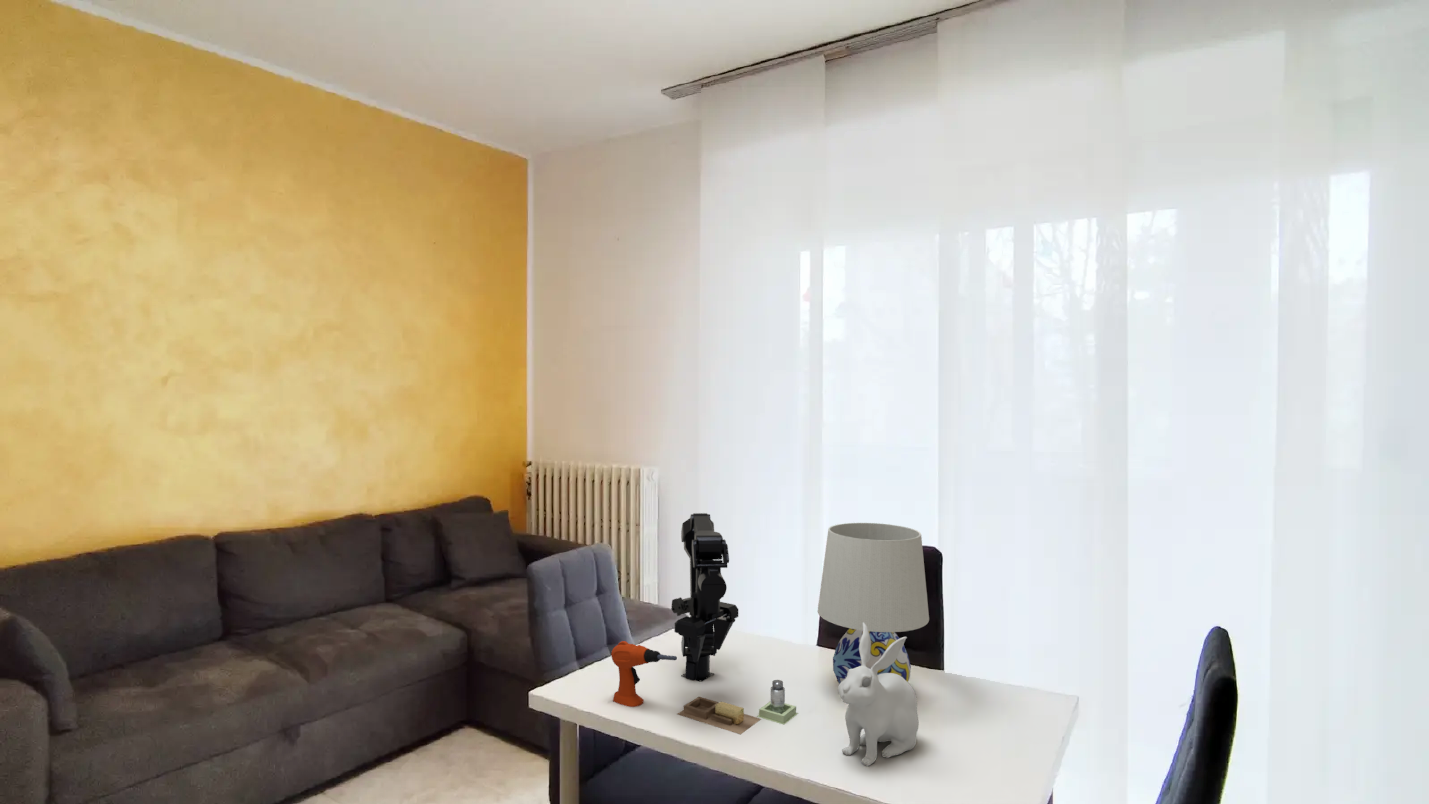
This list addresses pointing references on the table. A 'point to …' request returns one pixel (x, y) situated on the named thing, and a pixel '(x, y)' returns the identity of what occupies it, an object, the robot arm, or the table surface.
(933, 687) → the table surface
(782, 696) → the chrome stepped cylinder
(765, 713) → the tray
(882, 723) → the rabbit
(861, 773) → the table surface
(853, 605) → the table lamp
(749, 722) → the socket block
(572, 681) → the table surface
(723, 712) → the yellow rectangular block
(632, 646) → the toy drill
